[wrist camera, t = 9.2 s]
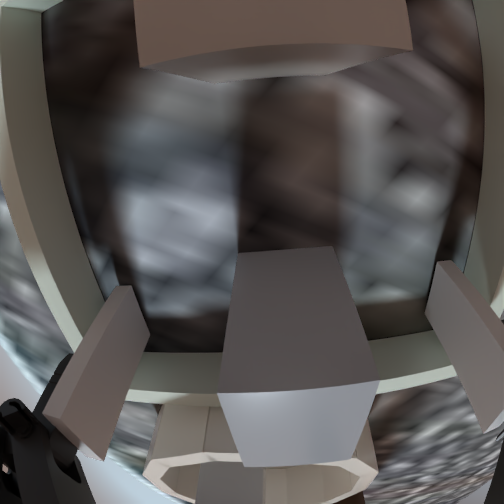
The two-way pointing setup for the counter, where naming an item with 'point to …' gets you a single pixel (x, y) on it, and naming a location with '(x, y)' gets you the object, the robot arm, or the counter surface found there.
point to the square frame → (78, 267)
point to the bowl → (224, 449)
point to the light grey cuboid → (294, 360)
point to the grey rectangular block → (230, 483)
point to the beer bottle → (353, 499)
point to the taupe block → (267, 36)
